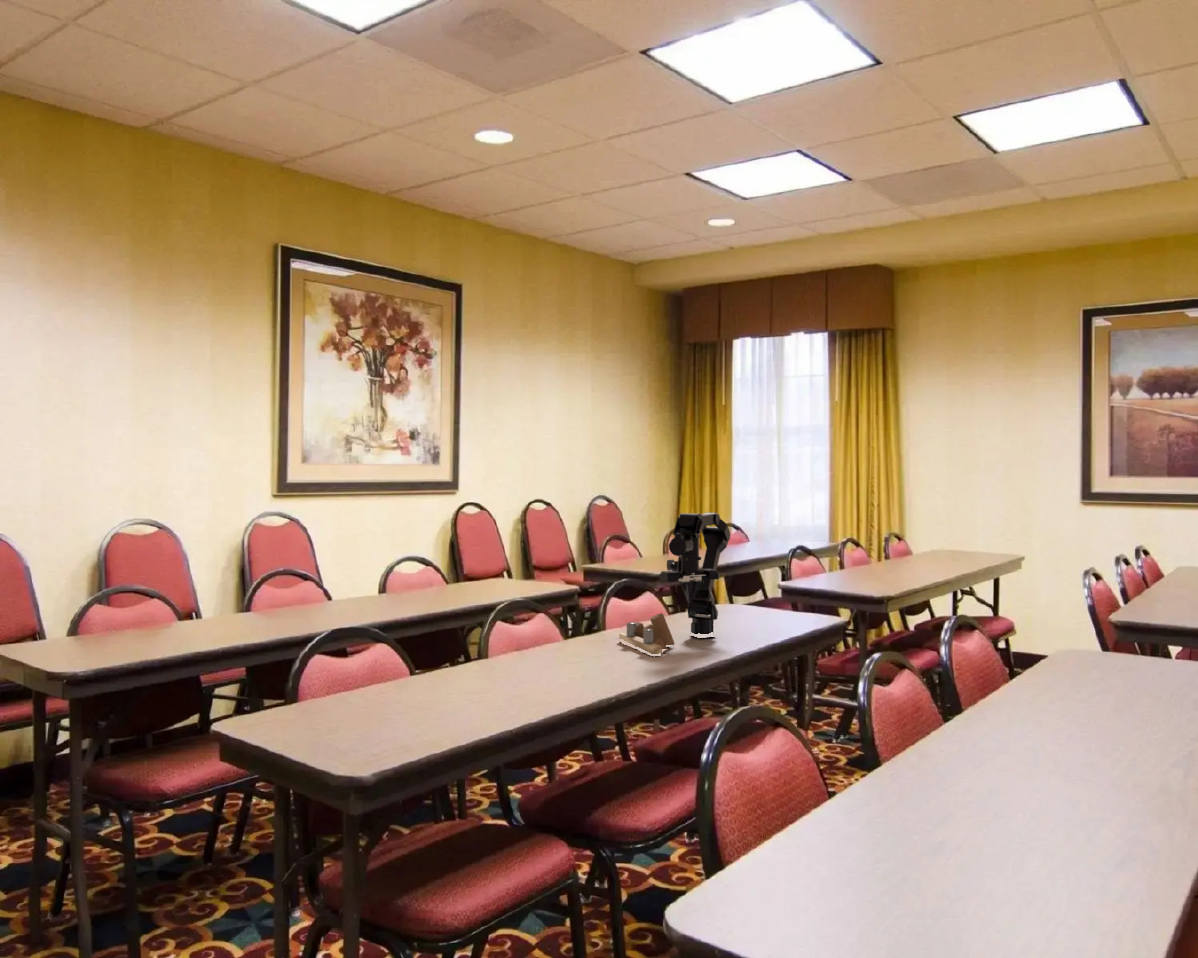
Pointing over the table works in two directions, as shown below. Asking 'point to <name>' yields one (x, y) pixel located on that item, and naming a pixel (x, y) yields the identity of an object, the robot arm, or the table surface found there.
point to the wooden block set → (657, 631)
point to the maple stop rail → (641, 644)
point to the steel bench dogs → (646, 633)
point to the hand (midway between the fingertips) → (689, 602)
